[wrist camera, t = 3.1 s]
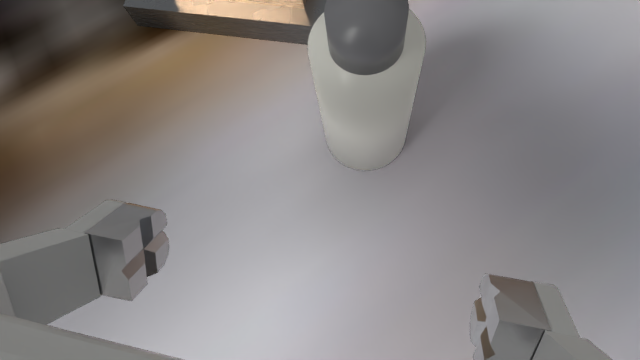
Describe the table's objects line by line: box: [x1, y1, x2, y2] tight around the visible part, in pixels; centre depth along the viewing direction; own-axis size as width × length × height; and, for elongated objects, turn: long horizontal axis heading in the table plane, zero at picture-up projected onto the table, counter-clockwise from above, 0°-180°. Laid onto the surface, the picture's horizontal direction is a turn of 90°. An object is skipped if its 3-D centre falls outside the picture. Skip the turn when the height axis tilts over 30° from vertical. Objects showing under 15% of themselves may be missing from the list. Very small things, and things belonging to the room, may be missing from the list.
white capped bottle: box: [308, 0, 426, 171], centre depth 21 cm, size 5×5×11 cm
